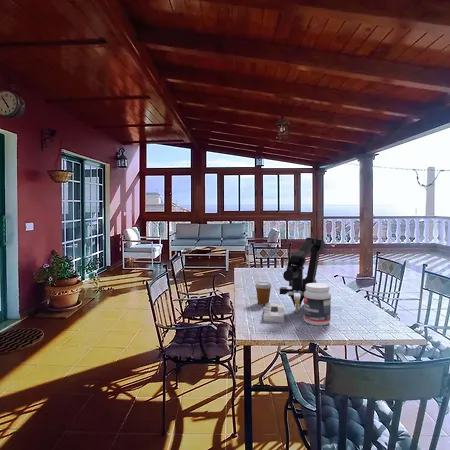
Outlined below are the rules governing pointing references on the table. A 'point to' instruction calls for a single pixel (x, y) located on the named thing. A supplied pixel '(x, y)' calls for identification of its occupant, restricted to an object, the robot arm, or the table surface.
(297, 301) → the tan pronged block
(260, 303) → the disposable coffee cup
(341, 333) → the table surface
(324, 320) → the supplement tub
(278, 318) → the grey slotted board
